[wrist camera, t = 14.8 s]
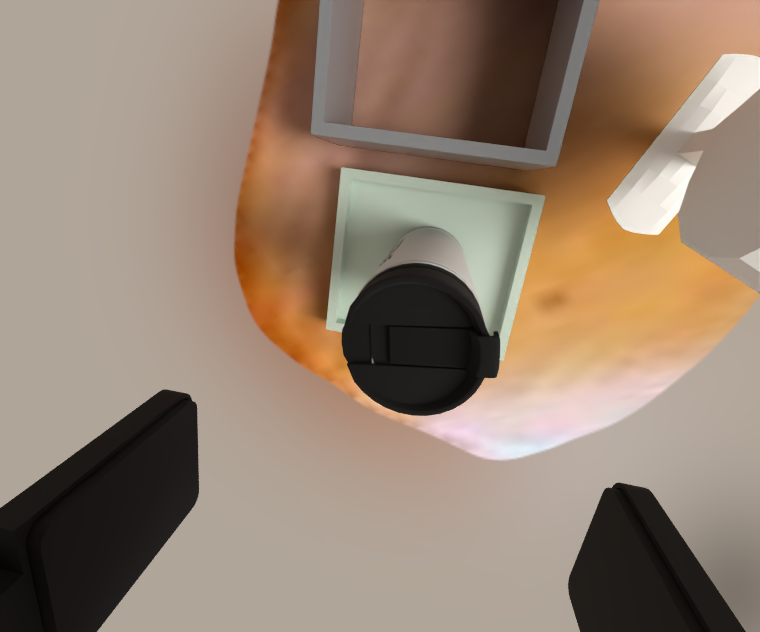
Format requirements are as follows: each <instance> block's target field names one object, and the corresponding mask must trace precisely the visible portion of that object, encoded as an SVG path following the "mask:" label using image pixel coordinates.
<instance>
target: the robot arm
mask: <svg viewBox="0 0 760 632" xmlns="http://www.w3.org/2000/svg"><path fill="white" fill-rule="evenodd" d="M197 430H198V429H197V405H196V403H195V402H193V401H192V399H191V397H190V395H188V394H186V393H181V392H176V391H171V390H162V391H160V392H158V393H157V394H156V395H154V396H153V397H151V398H150V399H149V400H147V401H146V402H145V403H143V404H142V405H141V406H139V407H138V408H136V409H135V410H134V411H132V412H131V413H130V414H128V415H127V416H126V417H124V418H123V419H121V420H120V421H119V422H117V423H116V424H115V425H114V426H112V427H111V428H109V429H108V430H106V431H105V432H104V433H102V434H101V435H100V436H98V437H97V438H96V439H94V440H93V441H91V442H90V443H89V444H87V445H86V446H85V447H83V448H82V449H80V450H79V451H78V452H76V453H75V454H74V455H72V456H71V457H70V458H68V459H67V460H66V461H64V462H63V463H62V464H60V465H59V466H57V467H56V468H55V469H53V470H52V471H50V472H49V473H48V474H46V475H45V476H44V477H42V478H41V479H40V480H38V481H37V482H35V483H34V484H33V485H32V486H30V487H29V488H27V489H26V490H25V491H23V492H22V493H20V494H19V495H18V496H16V497H15V498H14V499H12V500H11V501H9V502H8V503H7V504H5V505H4V506H3V507H1V508H0V632H97V631H98V629H99V628H100V627H101V626H102V624H103V623H104V622H105V620H106V619H107V618H108V616H109V615H110V614H111V613H112V611H113V610H114V609H115V608H116V606H117V605H118V604H119V602H120V601H121V600H122V599H123V597H124V596H125V595H126V593H127V592H128V591H129V589H130V588H131V587H132V585H133V584H134V583H135V582H136V580H137V579H138V578H139V576H140V575H141V574H142V573H143V571H144V570H145V569H146V568H147V566H148V565H149V564H150V562H151V561H152V560H153V558H154V557H155V556H156V555H157V553H158V552H159V551H160V549H161V548H162V547H163V546H164V544H165V543H166V542H167V540H168V539H169V538H170V537H171V535H172V534H173V533H174V531H175V530H176V529H177V527H178V526H179V525H180V524H181V522H182V521H183V520H184V518H185V517H186V516H187V515H188V513H189V512H190V511H191V509H192V508H193V506H194V505H195V503H196V500H197V498H198V494H199V475H198V474H199V473H198V433H197V432H198V431H197ZM568 589H569V596H570V600H571V603H572V606H573V609H574V613H575V616H576V619H577V623H578V626H579V629H580V632H745V630H744V629H743V627H742V626H741V624H740V623H739V621H738V620H737V618H736V617H735V615H734V614H733V612H732V611H731V609H730V608H729V606H728V605H727V603H726V602H725V600H724V599H723V597H722V596H721V594H720V593H719V591H718V590H717V589H716V587H715V585H714V584H713V582H712V581H711V580H710V578H709V577H708V575H707V574H706V572H705V571H704V569H703V568H702V566H701V565H700V563H699V562H698V560H697V559H696V557H695V556H694V554H693V553H692V551H691V550H690V548H689V547H688V545H687V544H686V542H685V541H684V539H683V538H682V537H681V535H680V534H679V532H678V531H677V529H676V528H675V526H674V525H673V523H672V522H671V520H670V519H669V517H668V516H667V514H666V513H665V511H664V510H663V508H662V507H661V505H660V504H659V502H658V501H657V499H656V498H655V497H654V495H653V494H652V492H651V491H650V490H649V489H646V488H643V487H638V486H633V485H628V484H623V483H616V484H615V485H613V487H612V488H606V489H605V490H604V492H603V494H602V496H601V499H600V501H599V504H598V506H597V509H596V512H595V514H594V516H593V519H592V521H591V524H590V526H589V529H588V532H587V534H586V536H585V539H584V541H583V544H582V547H581V549H580V552H579V554H578V556H577V559H576V561H575V564H574V566H573V569H572V572H571V574H570V577H569V583H568Z"/></svg>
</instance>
